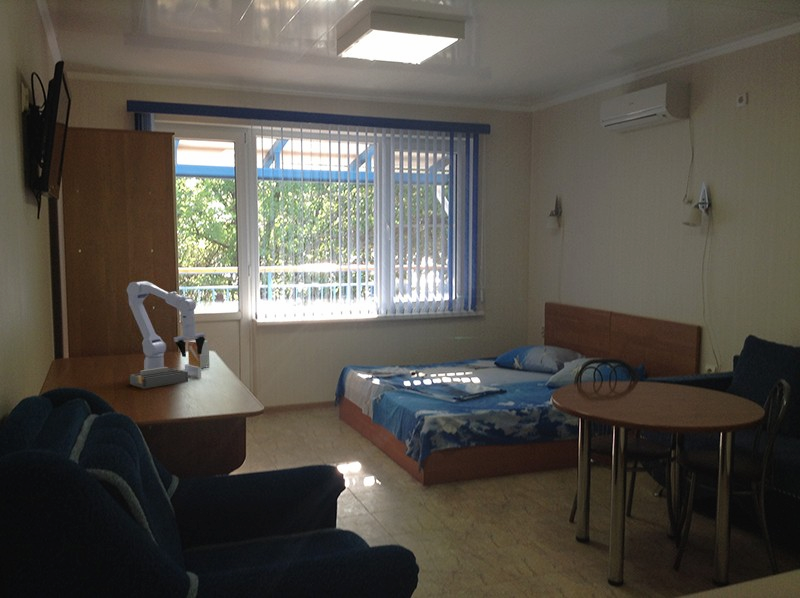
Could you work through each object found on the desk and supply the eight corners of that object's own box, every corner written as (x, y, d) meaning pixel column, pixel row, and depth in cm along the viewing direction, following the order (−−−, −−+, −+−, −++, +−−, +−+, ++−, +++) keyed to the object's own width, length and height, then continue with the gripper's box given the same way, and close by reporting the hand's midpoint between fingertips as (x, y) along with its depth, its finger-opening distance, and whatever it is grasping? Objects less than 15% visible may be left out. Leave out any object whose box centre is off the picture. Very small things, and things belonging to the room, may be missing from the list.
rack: (129, 384, 292) (128, 371, 291) (173, 377, 306) (173, 365, 306) (142, 388, 282) (142, 375, 282) (188, 381, 297) (187, 368, 296)
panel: (185, 375, 311) (184, 364, 311) (188, 375, 313) (187, 364, 312) (198, 378, 303) (197, 367, 303) (201, 378, 304) (200, 367, 304)
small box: (188, 367, 331) (187, 341, 330) (198, 365, 337) (197, 339, 336) (200, 368, 327) (199, 342, 326) (210, 366, 333) (209, 340, 332)
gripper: (178, 327, 298) (181, 358, 299) (207, 323, 308) (210, 353, 309) (170, 327, 303) (173, 357, 304) (200, 323, 313) (203, 352, 314)
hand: (192, 355), depth 307 cm, fingers open, 7 cm apart
